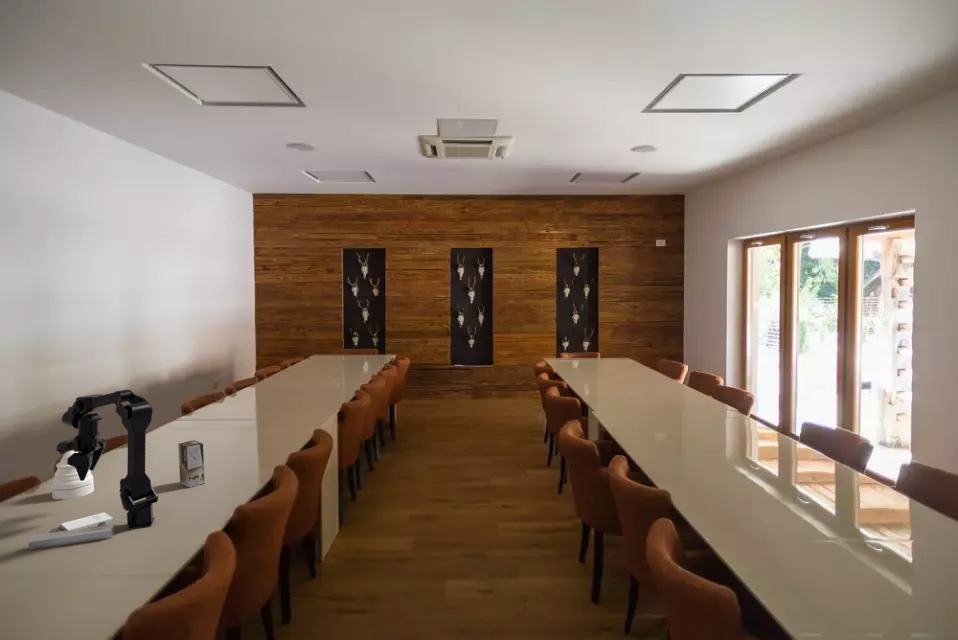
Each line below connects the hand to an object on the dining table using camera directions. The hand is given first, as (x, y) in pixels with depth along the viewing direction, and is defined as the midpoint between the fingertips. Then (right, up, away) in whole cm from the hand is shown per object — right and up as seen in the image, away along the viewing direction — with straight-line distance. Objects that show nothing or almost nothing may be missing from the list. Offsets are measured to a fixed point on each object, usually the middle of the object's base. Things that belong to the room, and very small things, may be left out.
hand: (87, 475), depth 195 cm
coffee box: (+22, -11, +28) cm, 37 cm away
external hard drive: (+7, -14, -10) cm, 18 cm away
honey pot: (-18, -12, +19) cm, 29 cm away
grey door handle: (+11, -14, -21) cm, 28 cm away
